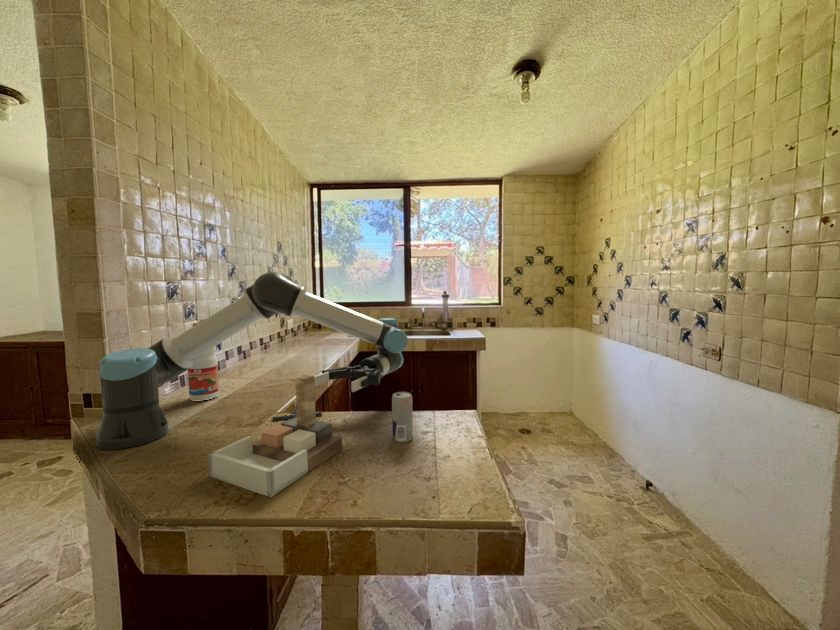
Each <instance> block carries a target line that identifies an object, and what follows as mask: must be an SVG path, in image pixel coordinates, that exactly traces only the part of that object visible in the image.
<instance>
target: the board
mask: <svg viewBox="0 0 840 630" xmlns="http://www.w3.org/2000/svg"><path fill="white" fill-rule="evenodd" d="M342 439H343V437H341V436H336V435H333V434H332V436H330V437H329V438H327V439H325V440H324V441H322V442H320V443H316V445H315V446H313V447H312V448H310V449H308V450H307V459H308V473H309V472H310V471H312V470H314V469H315V468H316V467H318V466H319V465H321V464H323V463H324V462H325V461H327V460H328V459H330V458H331V457H333V456H334V455H335V454H337V453H338V452H341V450H343V440H342ZM252 446H253V454H256V455H260V456H263V457H267V458H271V459H274V460H278V461H281V462H283V461H284V460H286V459H288V458H290V457H291V456H293V455H295V454H296V453H293V452H289V451H285V450H284V445H283V446H281V447H279V448H274V447H270V446H266V445H262V437H261V438H259V439H256V440H255V441H252Z"/></svg>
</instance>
